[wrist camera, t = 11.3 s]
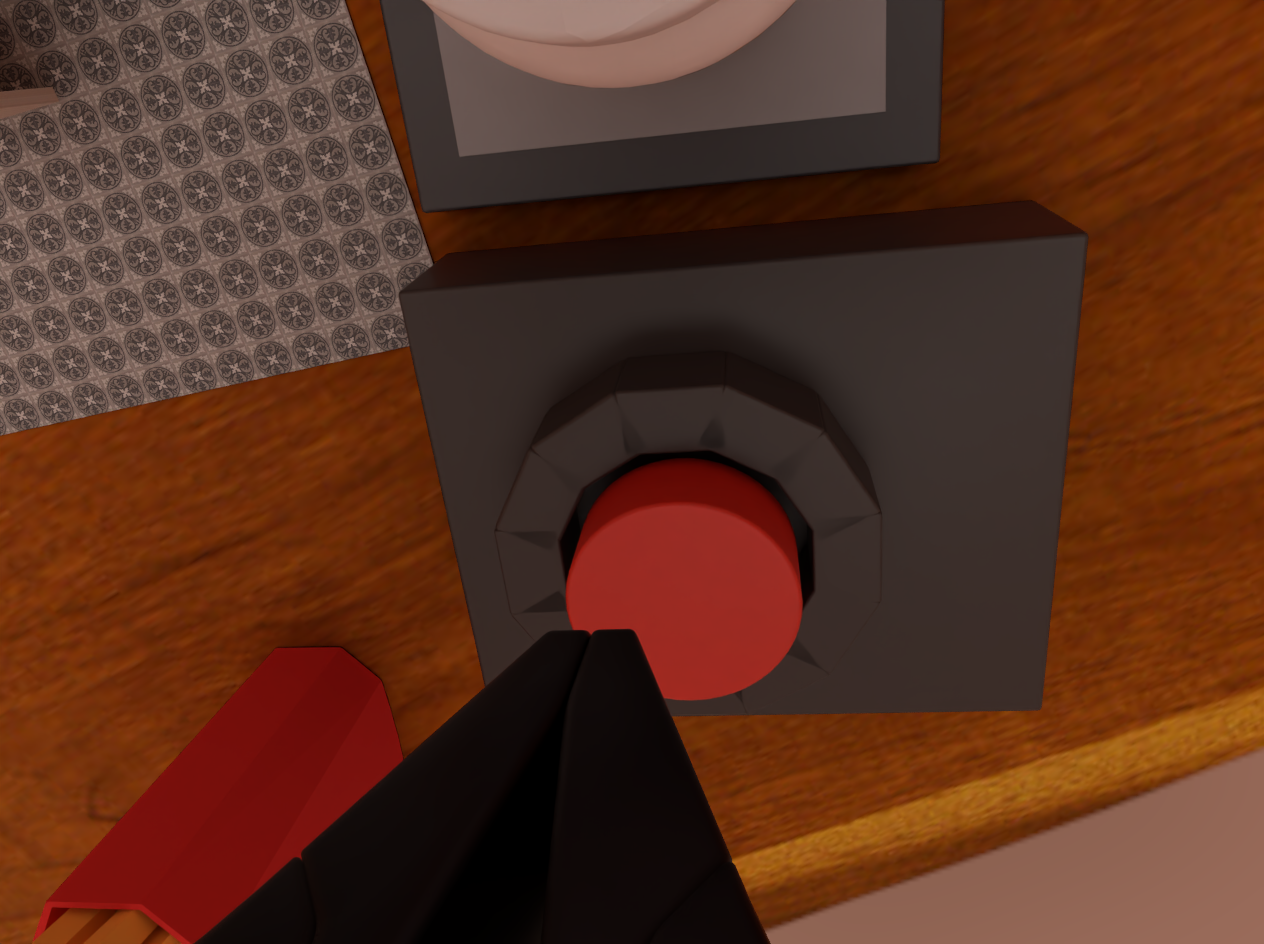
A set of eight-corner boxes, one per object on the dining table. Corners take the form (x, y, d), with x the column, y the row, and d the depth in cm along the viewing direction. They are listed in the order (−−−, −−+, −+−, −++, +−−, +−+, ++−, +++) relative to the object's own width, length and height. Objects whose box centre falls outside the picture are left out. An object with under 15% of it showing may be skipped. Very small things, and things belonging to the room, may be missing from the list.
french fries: (426, 841, 28) (229, 1360, 17) (302, 838, 28) (33, 1341, 17) (366, 604, 24) (67, 1072, 13) (225, 606, 25) (-174, 1059, 14)
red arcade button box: (1035, 198, 18) (1132, 256, 14) (1003, 623, 22) (1069, 773, 18) (445, 252, 20) (359, 320, 15) (521, 637, 24) (470, 778, 20)
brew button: (792, 450, 16) (799, 496, 14) (801, 639, 18) (806, 699, 16) (566, 462, 17) (548, 509, 15) (594, 645, 18) (581, 704, 17)
